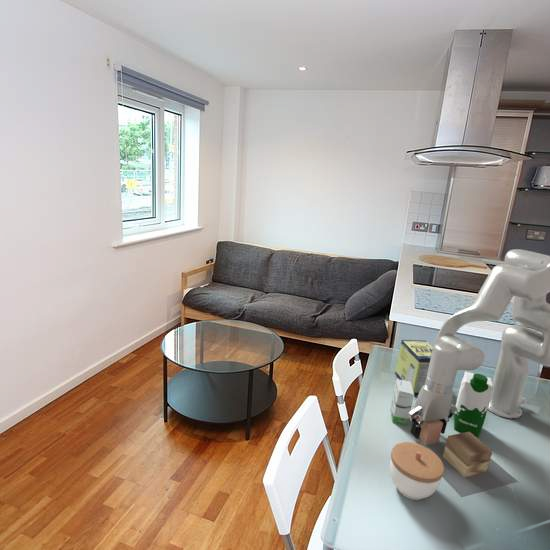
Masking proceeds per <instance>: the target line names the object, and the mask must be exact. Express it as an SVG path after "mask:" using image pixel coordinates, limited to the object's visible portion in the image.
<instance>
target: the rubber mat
mask: <svg viewBox="0 0 550 550" xmlns="http://www.w3.org/2000/svg"><path fill="white" fill-rule="evenodd" d="M446 442H447V440H445V441H440V442H434V443H429V444H425V445H423V446H424V447H426V448H428V449H430V450H431V451H433V452H434V453H435V454H436V455H437V456H438V457H439V458H440V459H441V461H442V463H443V466H444V473H443V476H442V478H443V480H445V481H446V482H447V484H448V485H449V486H450V487H451V488H452V489H453V490H454V491H456V493H457V494H458V495H459V496H460V497H461V498H463V497H467V496H470V495H471V496H472V495H474V494H478V493H482V492H484V491H485V492H486V491H488V490H492V489H495V488H499V487H503V486H504V487H505V486H507V485H512V484H514V483H518V482H519V481H518V480H517V479H516V478H515V477H513V476H512V475H511V474H510V473H509V472H508V471H507V470H506V469H504V468H503V467H502V466H501V465H500V464H498V463H497V462H496V461H495V460H494V459H492V458H490V461H489V464H488V468H487V471H486V472H483V473H479V474H475V475H471V476H467V477H464V476H463V475H461V474H460V473H459V472H458V471H457V470H456V469H455V468H454V467H453V466H452V465H451V464H450V463H449V462H448V461H447V460H446V459H445V458H444V457H443V453H444V449H445V445H446Z"/></svg>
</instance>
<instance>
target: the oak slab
mask: <svg viewBox="0 0 550 550" xmlns="http://www.w3.org/2000/svg"><path fill="white" fill-rule="evenodd" d="M443 457H444V458H445V459H446V460H447V461H448V462H449V463H450V464H451V465H452V466H453V467H454V468H455V469H456V470H457V471H458V472H459V473H460V474H461V475H463V476H464V477H467V476H471V475H475V474H479V473H483V472H486V471H487V468H488V464H489V462H485V463H480V464H476V465H472V466H468V467H467V466H466V465H465V464H464V463H463V462H462V461H461V460H460V459H459V458H458V457H456V456H455V455H454V454H453V453H452V452H451V451H450V450H449V449H448V448H447V447H446V446H445V449H444V453H443Z"/></svg>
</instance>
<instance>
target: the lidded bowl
mask: <svg viewBox="0 0 550 550" xmlns="http://www.w3.org/2000/svg"><path fill="white" fill-rule="evenodd" d="M424 446H425V445H421V444H419V443H417V442H416V443H415V442H412V441H411V442H409V441H403V442H398V443H396V444H395V445H394V446H393V447H392V449H391V451H390V459H389V461H390V462H389V473H390V477H391V481H392V483H393V484H394V485H395V488H396V489H397V491H398V492H399V493H400V494H401V495H403V496H404V497H406V498H408V499H410V500H414V501H419V500H422V499H426V498H429V497H430V496H433V494H434V493H436V491H437V490H438V487H439V485H440V483H441V481H442V478H443V477H442V476H443V473H444V466H443V463H442V461H441V459H440V458H439V457H438V456H437V455H436V454H435V453H434V452H433V451H431V450H430V449H428V448H426V447H424Z"/></svg>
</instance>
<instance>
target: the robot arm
mask: <svg viewBox="0 0 550 550" xmlns="http://www.w3.org/2000/svg"><path fill="white" fill-rule="evenodd" d="M549 293H550V255H547V254H543V253H539V252H535V251H530V250H525V249H519V248H517V249H516V248H515V249H514V248H513V249H510V250H508V251H507V252H506V254H505V256H504V263H503V264H501V263H500V264H497V265H495V266H493V268H492V269H491V270H490V272H489V273H488V275H487V277H486V278H485V280H484V282H483V284H482V286H481V287H480V290H479V291H478V293H477V295H476V296H475V297H474V300H473V302H471V304H470V305H469V306H467V307H465V308H462V309H461V310H458V311H457V312H456V313H455V312H454V313H453V314H452V315H451V316H449V317H448V318H447V319H445V321H444V322H443V324H442V326H441V327H440V329H439V331H437V332H438V333H437V334H436V335H435V338H434V342H433V346H432V347H433V351H432V355H431V359H430V364H429V368H428V373H427V377H426V381H425V385H423V386H422V388H421V390H420V392H419V394H418V396H416V397H417V398H416V400H415V405H414V408H413V409H411V411H410V412H409V413H408V415H409V421H410V422H411V423H412V424H411V428H410V434H411V435H412V436H413V437H415V439H420V438H419V436H420V432H421V427H420V426H421V425H422V424H423V423H424V421H433V420H440V421H441V422H442V423H443V426H442V430H441V434H442V435H443V434H445V433H446V428H447V425H448V423H449V422H450V419H451V417H452V416H453V415H454V411H455V410H456V407H455V405H454V404H452V403H453V396H454V395H453V388H454V385H455V381H456V377H457V374H458V373H457V372H458V371H466V372H469V371H475V370H476V369H479V368H480V367H481V366H482V365H483V364H484V362H485V354H484V352H483V350H482V349H480V347H478V346H476V345H474V344H472V343H470V342H468V341H466V340H464V339H462V338H460V337H458V336H456V333H457V332H458V331H459V330H460V328H462V327H464V326H465V325H467V324H471V323H475V322H495V321H496V322H497V321H499V320H500V319H501V318H503V315H504V314H505V311H506V309H507V308H508V306H509V304H510V302H511V301H512V298H514V299H513V303H512V307H511V308H512V309H511V319H512V320H513V321H514V322H515V323H516V324H510V325H508V326H506V327H505V329H504V330H503V332H502V333H501V334H502V335H501V339H500V340H501V341H500V343H501V345H500V351H499V357H498V360H497V364H496V368H495V372H494V375H493V378H492V387H493V392H492V395H491V399H490V403H489V407H488V410H487V411H490V412H491V413H493V414H495V415H496V416H499V417H503V418H506V419H512V418H515V419H519V418H521V417H522V415H523V410H522V409H521V408H520V406H521V404H526V403H527V402H528V400H527V398H526V397H525V396H524V397H523V393H524V389H525V386H526V383H527V379H528V377H529V374H530V362H529V360H530V361H532V362H534V363H537V364H539V365H541V366H544V367H549V368H550V303H548V302H547V300H546V299H547V294H549ZM420 415H422V417H421V416H420ZM520 416H521V417H520ZM418 418H421V420H420V421H419V422H417V420H418Z"/></svg>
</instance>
